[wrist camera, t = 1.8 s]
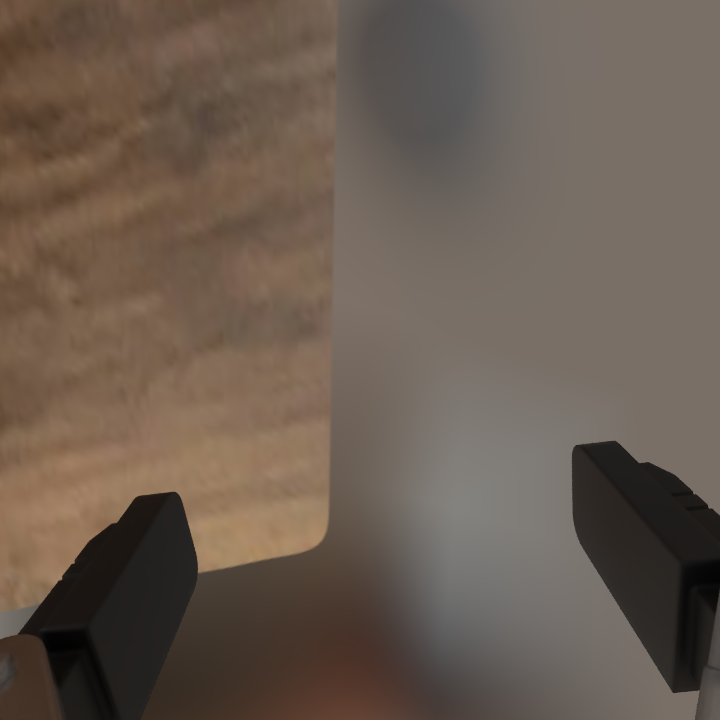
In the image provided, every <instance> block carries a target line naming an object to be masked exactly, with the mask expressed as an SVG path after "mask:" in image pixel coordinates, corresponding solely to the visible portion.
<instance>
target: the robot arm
mask: <svg viewBox="0 0 720 720" xmlns="http://www.w3.org/2000/svg"><path fill="white" fill-rule="evenodd" d="M572 496H573V497H572V499H573V521H574V526H575V530H576V533H577V537H578V539H579V541H580V544H581V546H582V547H583V549H584V551H585V552H586V554H587V555H588V557H589V559H590V560H591V562H592V563H593V565H594V567H595V568H596V570H597V572H598V573H599V575H600V576H601V578H602V579H603V581H604V583H605V584H606V586H607V588H608V589H609V591H610V592H611V594H612V596H613V597H614V599H615V600H616V602H617V604H618V605H619V607H620V609H621V610H622V612H623V613H624V615H625V617H626V618H627V620H628V621H629V623H630V625H631V626H632V628H633V629H634V631H635V633H636V634H637V636H638V637H639V639H640V640H641V642H642V644H643V645H644V647H645V649H646V650H647V652H648V653H649V655H650V657H651V658H652V660H653V662H654V663H655V665H656V666H657V668H658V670H659V671H660V673H661V674H662V676H663V678H664V679H665V681H666V682H667V684H668V686H669V687H670V689H671V690H672V692H673V693H678V692H688V691H698V690H700V693H699V698H698V704H697V710H696V716H695V720H720V515H719V514H717V513H716V512H715V511H714V510H713V509H709V508H708V505H707V504H706V503H705V502H704V501H703V500H702V499H701V498H700V497H699V496H697V495H696V494H695V495H694V494H693V491H692V490H691V489H690V488H689V487H688V486H686V485H685V484H684V483H683V482H682V481H681V480H680V479H679V478H678V477H677V476H675V475H674V474H672V473H670V472H667V471H666V470H663V469H661V468H659V467H657V466H655V465H653V464H651V463H649V462H647V463H638V462H637V461H636V460H635V459H634V458H633V457H632V456H631V455H630V454H629V453H628V452H627V451H626V450H625V449H624V448H623V447H622V446H621V445H620V444H619V443H617V442H616V441H607V442H599V443H590V444H582V445H576V446H575V447H574V449H573V452H572ZM197 574H198V563H197V556H196V552H195V548H194V544H193V540H192V537H191V533H190V529H189V525H188V522H187V518H186V514H185V510H184V507H183V503H182V500H181V498H180V496H179V495H178V493H176V492H168V493H159V494H151V495H142V496H138V497H136V498H135V499H134V500H133V502H132V503H131V504H130V506H129V507H128V509H127V510H126V511H125V513H124V514H123V515H122V517H121V518H120V520H119V521H118V522H117V523H113V524H111V525H109V526H108V527H107V528H106V529H104V530H103V531H102V532H100V533H99V534H98V535H97V536H95V537H94V538H93V539H91V540H90V541H89V542H88V543H87V545H86V546H85V547H84V549H83V550H82V551H81V553H80V554H79V555H78V556H77V558H76V559H75V564H71V566H70V567H69V568H68V569H67V571H66V572H65V573H64V575H63V576H62V580H59V581H58V583H57V584H56V585H55V586H54V588H53V589H52V590H51V592H50V593H49V594H48V596H47V597H46V598H45V599H44V601H43V602H42V603H41V605H40V606H39V607H38V609H37V610H36V611H35V613H34V614H33V615H32V616H31V618H30V619H29V621H28V622H27V623H26V624H25V626H24V627H23V628H22V629H21V631H20V632H19V633H18V635H14V636H10V637H6V638H3V639H0V720H141V717H142V715H143V712H144V710H145V708H146V705H147V703H148V700H149V698H150V695H151V693H152V691H153V688H154V686H155V683H156V680H157V678H158V676H159V673H160V671H161V669H162V666H163V664H164V661H165V659H166V657H167V654H168V652H169V649H170V647H171V644H172V642H173V639H174V637H175V635H176V632H177V630H178V627H179V625H180V622H181V620H182V617H183V615H184V613H185V610H186V608H187V606H188V603H189V601H190V598H191V596H192V594H193V591H194V589H195V585H196V581H197Z"/></svg>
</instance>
